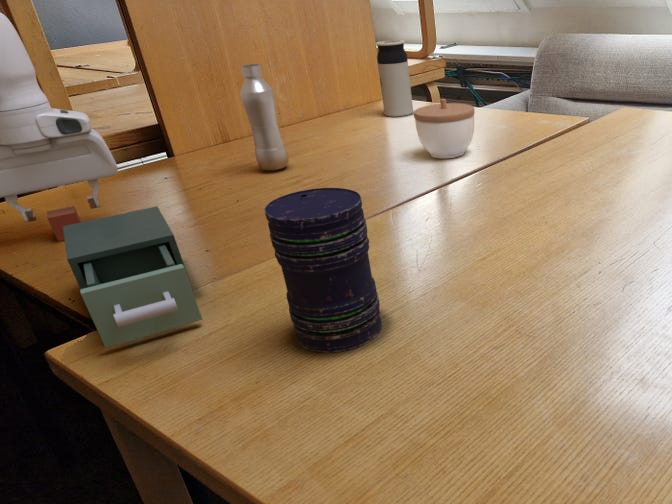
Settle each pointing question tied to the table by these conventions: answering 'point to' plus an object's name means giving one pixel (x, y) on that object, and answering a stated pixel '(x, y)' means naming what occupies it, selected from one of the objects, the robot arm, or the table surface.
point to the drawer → (138, 294)
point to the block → (62, 220)
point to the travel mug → (394, 78)
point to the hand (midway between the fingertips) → (64, 213)
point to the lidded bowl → (445, 128)
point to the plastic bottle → (263, 119)
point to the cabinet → (117, 238)
